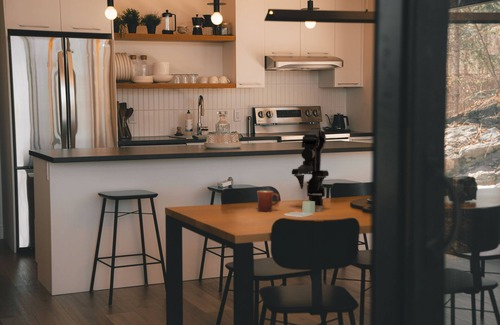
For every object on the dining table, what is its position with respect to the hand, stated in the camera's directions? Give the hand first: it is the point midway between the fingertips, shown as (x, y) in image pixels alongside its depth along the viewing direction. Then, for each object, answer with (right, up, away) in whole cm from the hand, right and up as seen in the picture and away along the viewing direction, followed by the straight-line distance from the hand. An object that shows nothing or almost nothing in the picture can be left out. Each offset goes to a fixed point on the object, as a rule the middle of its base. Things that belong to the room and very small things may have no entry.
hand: (309, 189), depth 358 cm
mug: (-21, -12, +5) cm, 25 cm away
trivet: (-6, -13, -7) cm, 15 cm away
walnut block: (+5, -12, +8) cm, 15 cm away
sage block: (0, -12, +1) cm, 12 cm away
